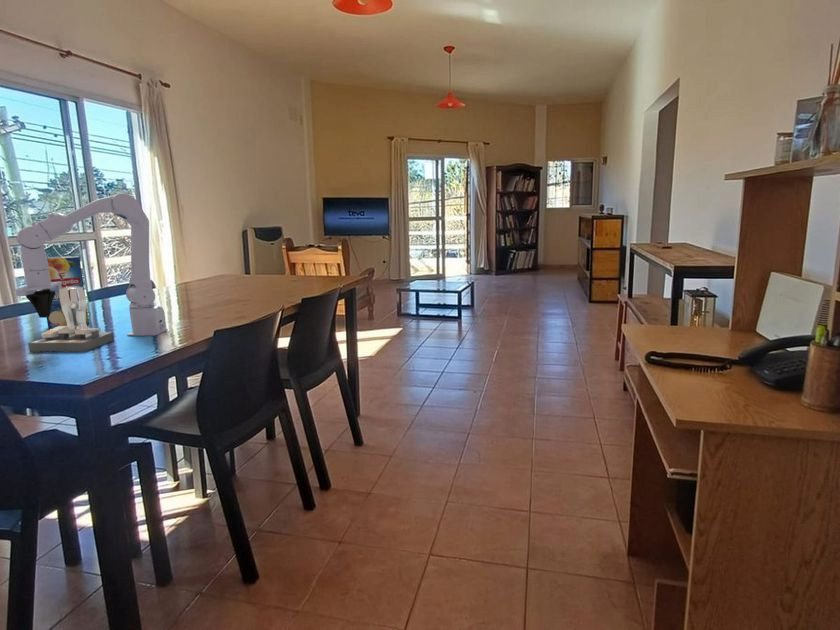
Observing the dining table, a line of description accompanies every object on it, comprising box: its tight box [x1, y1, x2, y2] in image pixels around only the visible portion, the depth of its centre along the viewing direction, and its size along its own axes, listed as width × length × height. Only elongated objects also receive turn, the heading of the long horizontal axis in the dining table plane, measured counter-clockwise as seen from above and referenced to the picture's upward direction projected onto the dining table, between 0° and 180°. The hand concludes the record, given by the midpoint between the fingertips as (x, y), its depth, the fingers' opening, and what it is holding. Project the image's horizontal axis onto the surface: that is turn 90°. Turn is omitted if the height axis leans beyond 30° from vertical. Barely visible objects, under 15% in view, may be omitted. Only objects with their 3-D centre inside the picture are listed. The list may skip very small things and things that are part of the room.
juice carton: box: [41, 255, 91, 330], centre depth 178 cm, size 12×8×24 cm, turn 125°
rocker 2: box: [75, 327, 101, 334], centre depth 152 cm, size 3×7×1 cm, turn 178°
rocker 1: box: [40, 326, 68, 339], centre depth 152 cm, size 3×7×1 cm, turn 178°
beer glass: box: [59, 286, 89, 330], centre depth 168 cm, size 7×7×15 cm
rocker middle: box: [58, 329, 77, 334], centre depth 152 cm, size 3×7×1 cm, turn 178°
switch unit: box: [27, 330, 115, 353], centre depth 152 cm, size 16×13×4 cm
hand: (44, 317), depth 148 cm, fingers closed
